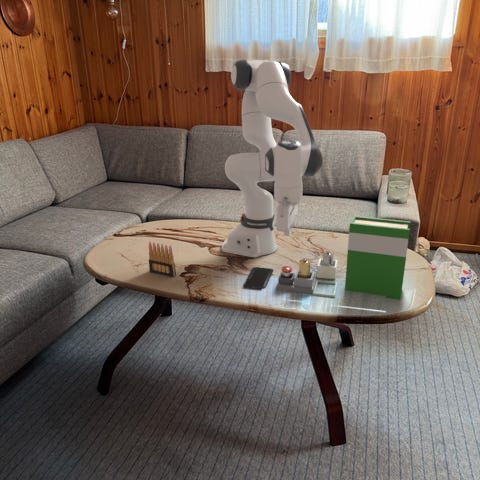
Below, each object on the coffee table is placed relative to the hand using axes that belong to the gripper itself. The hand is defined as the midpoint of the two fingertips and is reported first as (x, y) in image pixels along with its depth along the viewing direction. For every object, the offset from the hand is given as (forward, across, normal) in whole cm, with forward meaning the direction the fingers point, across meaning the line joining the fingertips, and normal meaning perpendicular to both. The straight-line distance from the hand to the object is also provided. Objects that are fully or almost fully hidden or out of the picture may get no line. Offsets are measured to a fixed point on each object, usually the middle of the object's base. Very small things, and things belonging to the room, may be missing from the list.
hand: (287, 234), depth 149 cm
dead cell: (+19, +11, -12) cm, 25 cm away
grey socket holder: (+19, 0, -4) cm, 19 cm away
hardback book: (+19, +4, -28) cm, 35 cm away
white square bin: (+19, +11, -12) cm, 25 cm away
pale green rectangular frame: (+19, 0, -13) cm, 23 cm away
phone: (+20, +3, +10) cm, 23 cm away
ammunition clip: (+19, -1, +46) cm, 49 cm away
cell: (+17, 0, -6) cm, 18 cm away
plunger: (+16, 0, 0) cm, 16 cm away
